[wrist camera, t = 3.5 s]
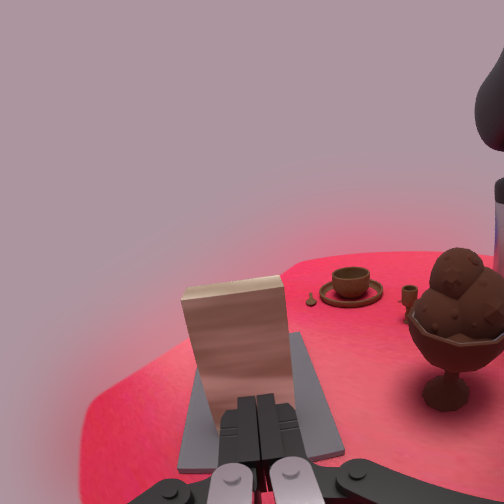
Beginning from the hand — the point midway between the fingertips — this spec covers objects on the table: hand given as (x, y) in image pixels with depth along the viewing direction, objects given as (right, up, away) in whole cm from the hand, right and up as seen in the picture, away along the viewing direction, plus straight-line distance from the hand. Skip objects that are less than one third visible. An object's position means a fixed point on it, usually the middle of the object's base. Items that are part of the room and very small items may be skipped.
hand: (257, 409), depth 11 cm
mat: (0, -9, +19) cm, 21 cm away
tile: (0, -9, +13) cm, 16 cm away
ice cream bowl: (+20, -8, +11) cm, 24 cm away
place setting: (+18, -3, +37) cm, 41 cm away
